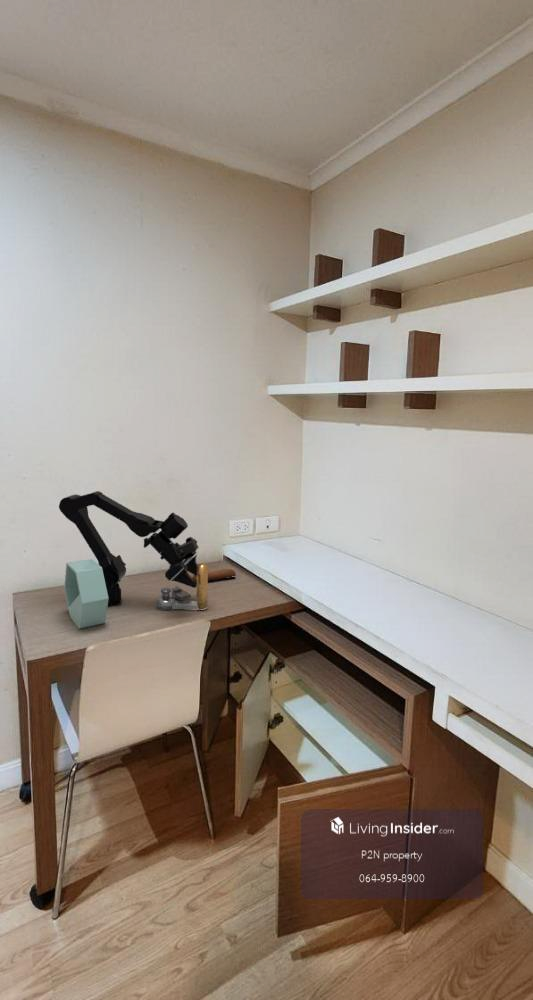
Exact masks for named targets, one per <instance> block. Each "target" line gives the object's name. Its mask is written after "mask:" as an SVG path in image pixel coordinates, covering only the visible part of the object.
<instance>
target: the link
mask: <svg viewBox="0 0 533 1000" xmlns="http://www.w3.org/2000/svg"><path fill="white" fill-rule="evenodd" d="M208 567H209V564H208V563H204V562H203V563H197V584H196V585H197V586H196V600H184V599H183V600H175V597H173V596H172V595H170V599H168V600H163V599H162V595H161V596H158V597H157V598H156V609H157V610H160V611H163V610H167V611H172V610H174V609H198V608H199V609H204V608H206V607H207V608H208V599H209V598H208V593H209V592H208V591H209V590H208V585H209V584H208V582H209V581H208V571H209V570H208V569H209V568H208ZM171 609H172V610H171Z"/></svg>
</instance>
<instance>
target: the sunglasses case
mask: <svg viewBox="0 0 533 1000" xmlns="http://www.w3.org/2000/svg"><path fill="white" fill-rule="evenodd" d="M232 576H237V575H236V572H235V570H234V569H232V568H217V569H212V570H211V569H210V570H208V582H211V581H210V580H213V581H217V580H216V579H219V580H223V579H222V578H227V577H232ZM190 577H191V578H192V579H193V581H194V582H195V583H197V576H195V575H194V574H191V575H190ZM227 579H228V578H227Z"/></svg>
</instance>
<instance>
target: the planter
mask: <svg viewBox="0 0 533 1000" xmlns="http://www.w3.org/2000/svg"><path fill="white" fill-rule="evenodd" d="M63 587H64V594H65V599H66V603H67V608H68V609H67V610H68V613H69V614H68V615H69V618H70V619H71V620H72V622H73V623H74V624H75V625H76V626H77V628H78V629H84V628H89V627H93V626H98V625H102V624H105V623H106V619H107V612H108V607H109V606H108V599H109V598H108V593H107V589H106V584H105V579H104V574H103V570H102V567H101V566H100V565H99V563H98V562H96V561H95V560H94V559H92V558H90V559H81V560H75V561H69V562H66V564H65V575H64V586H63Z"/></svg>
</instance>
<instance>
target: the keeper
mask: <svg viewBox="0 0 533 1000" xmlns="http://www.w3.org/2000/svg"><path fill="white" fill-rule="evenodd" d="M171 596H173V597H175V600H183V601H184V600H187V599H191V598H192V594H191V593H189V592H188V591H187V590H184V589H182V588H181V587H178V586H177V587H172V588H171Z"/></svg>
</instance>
